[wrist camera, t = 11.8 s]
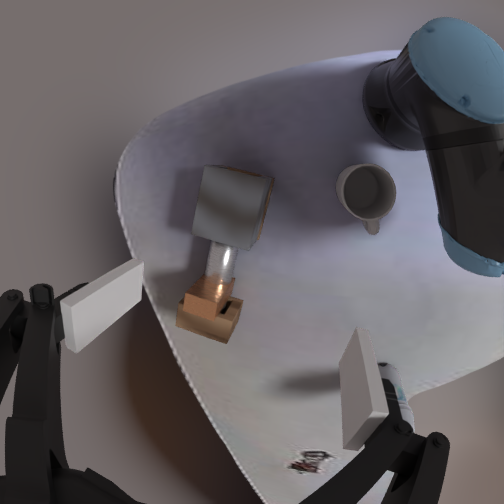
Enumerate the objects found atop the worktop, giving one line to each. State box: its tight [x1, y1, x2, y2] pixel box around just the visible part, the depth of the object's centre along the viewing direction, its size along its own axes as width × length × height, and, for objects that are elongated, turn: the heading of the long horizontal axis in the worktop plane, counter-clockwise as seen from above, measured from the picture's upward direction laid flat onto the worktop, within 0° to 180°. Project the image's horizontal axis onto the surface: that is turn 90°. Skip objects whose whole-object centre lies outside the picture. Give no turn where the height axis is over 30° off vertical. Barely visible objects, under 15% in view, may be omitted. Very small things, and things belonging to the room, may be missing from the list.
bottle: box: [378, 364, 415, 431], centre depth 40 cm, size 7×7×20 cm
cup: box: [336, 163, 396, 235], centre depth 38 cm, size 7×10×9 cm
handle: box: [183, 240, 239, 321], centre depth 43 cm, size 18×5×10 cm, turn 166°
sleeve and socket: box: [176, 165, 275, 344], centre depth 45 cm, size 26×9×8 cm, turn 166°
